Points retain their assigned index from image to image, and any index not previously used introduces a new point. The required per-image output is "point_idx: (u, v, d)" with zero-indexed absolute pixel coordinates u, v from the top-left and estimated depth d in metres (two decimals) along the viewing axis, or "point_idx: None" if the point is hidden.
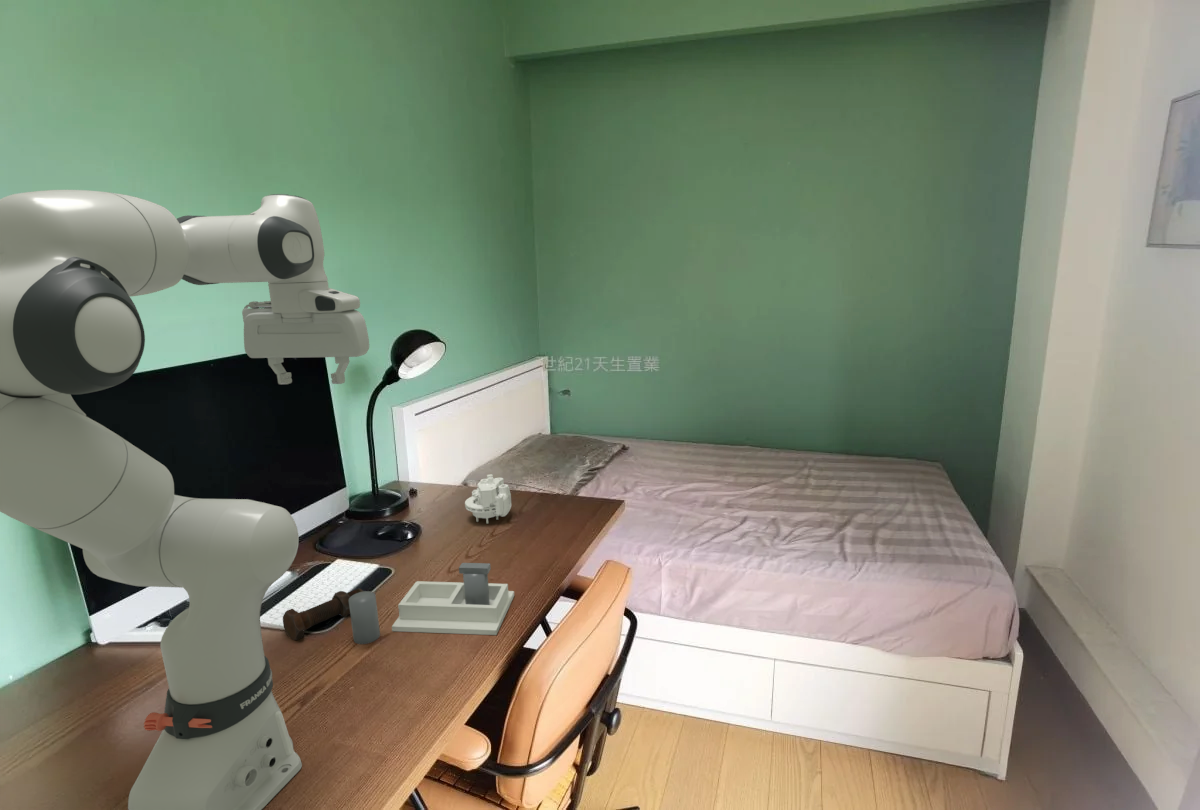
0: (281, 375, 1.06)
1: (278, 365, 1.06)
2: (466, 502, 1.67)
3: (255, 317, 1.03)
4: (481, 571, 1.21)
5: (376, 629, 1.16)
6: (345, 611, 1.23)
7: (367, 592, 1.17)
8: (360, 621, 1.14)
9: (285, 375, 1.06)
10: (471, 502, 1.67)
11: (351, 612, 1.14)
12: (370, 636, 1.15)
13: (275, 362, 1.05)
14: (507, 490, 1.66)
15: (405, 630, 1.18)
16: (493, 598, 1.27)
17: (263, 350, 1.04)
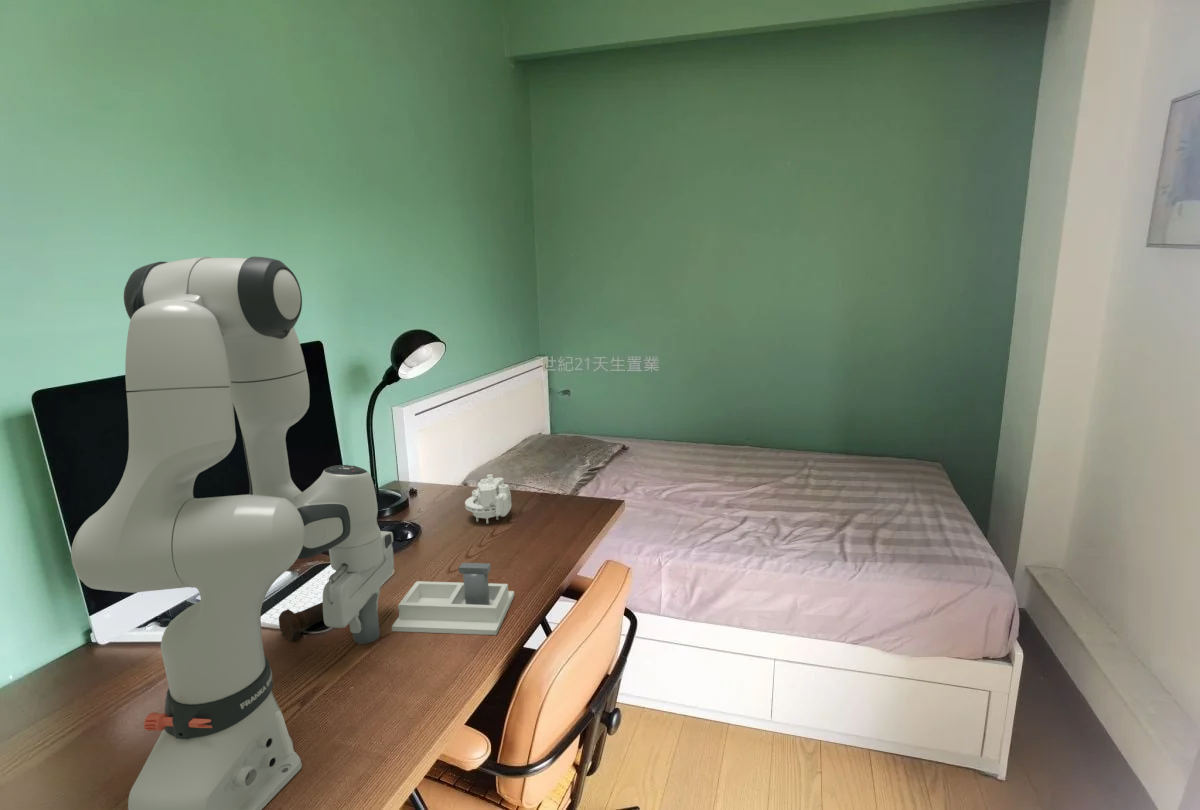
0: (361, 622, 1.13)
1: None
2: (466, 502, 1.67)
3: (347, 584, 1.07)
4: (481, 571, 1.21)
5: (376, 628, 1.16)
6: None
7: None
8: None
9: (361, 621, 1.14)
10: (471, 502, 1.67)
11: None
12: (370, 636, 1.15)
13: (358, 613, 1.12)
14: (507, 490, 1.66)
15: (405, 630, 1.18)
16: (493, 598, 1.27)
17: (353, 612, 1.09)
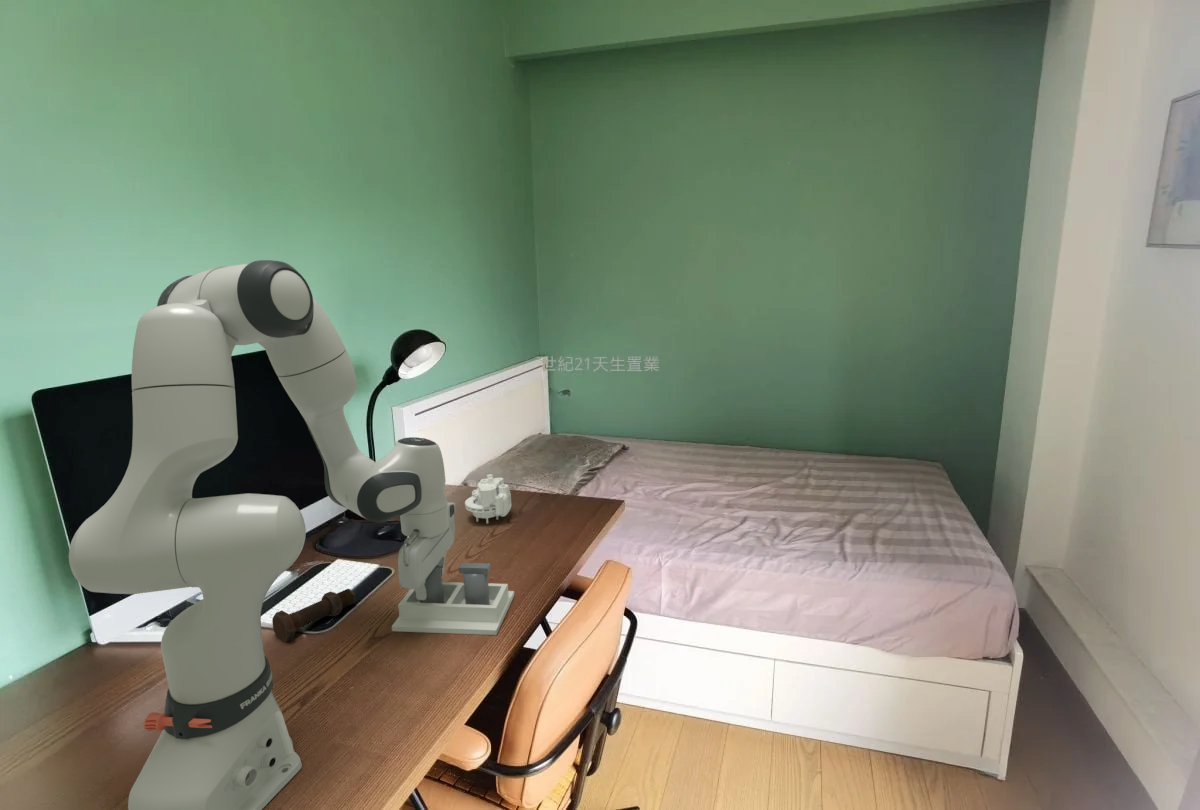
0: (426, 590, 1.19)
1: None
2: (466, 502, 1.67)
3: (421, 548, 1.14)
4: (481, 571, 1.21)
5: (441, 599, 1.24)
6: (335, 612, 1.23)
7: None
8: (428, 592, 1.21)
9: (426, 589, 1.20)
10: (471, 502, 1.67)
11: None
12: None
13: None
14: (507, 490, 1.66)
15: (405, 630, 1.18)
16: (493, 598, 1.27)
17: (425, 574, 1.16)
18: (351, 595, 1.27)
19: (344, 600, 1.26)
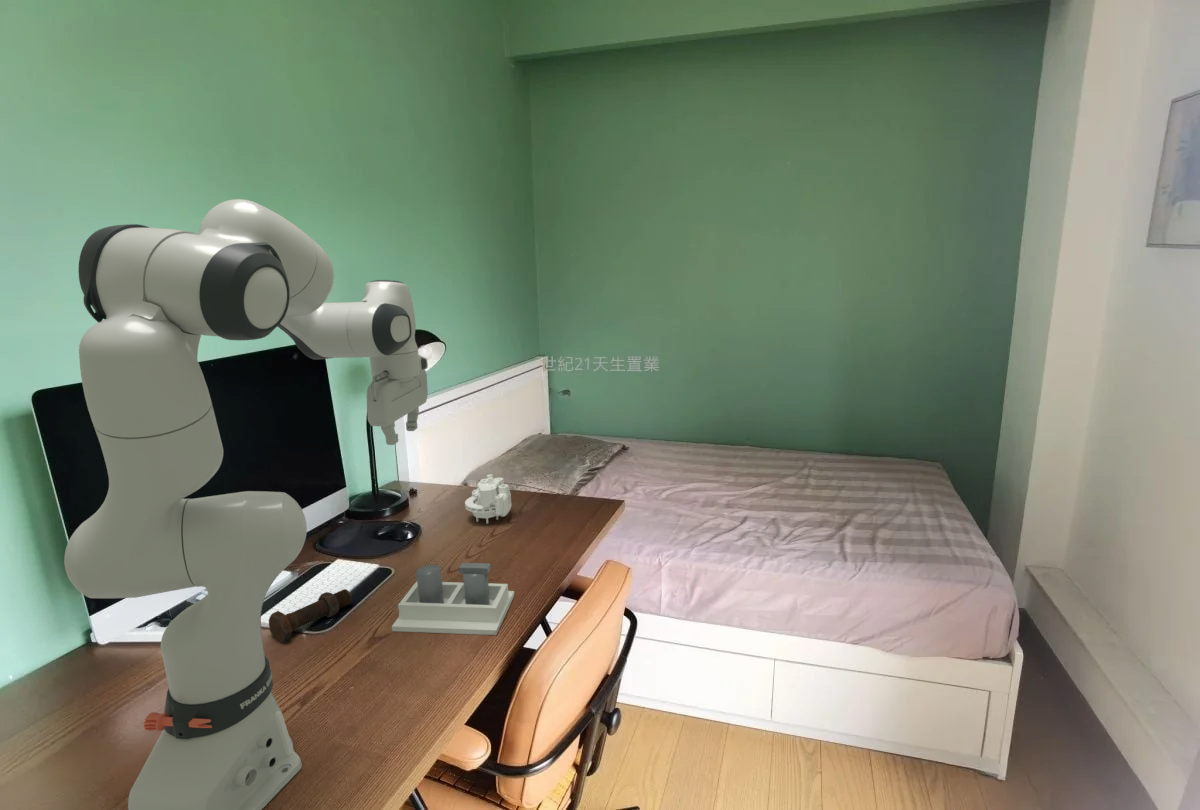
0: (396, 435, 1.19)
1: None
2: (466, 502, 1.67)
3: (389, 386, 1.14)
4: (481, 571, 1.21)
5: (441, 599, 1.24)
6: (331, 612, 1.23)
7: (432, 565, 1.25)
8: (428, 592, 1.21)
9: None
10: (471, 502, 1.67)
11: (419, 583, 1.22)
12: None
13: (394, 425, 1.17)
14: (507, 490, 1.66)
15: (405, 630, 1.18)
16: (493, 598, 1.27)
17: (394, 415, 1.16)
18: (348, 595, 1.27)
19: (340, 601, 1.25)
